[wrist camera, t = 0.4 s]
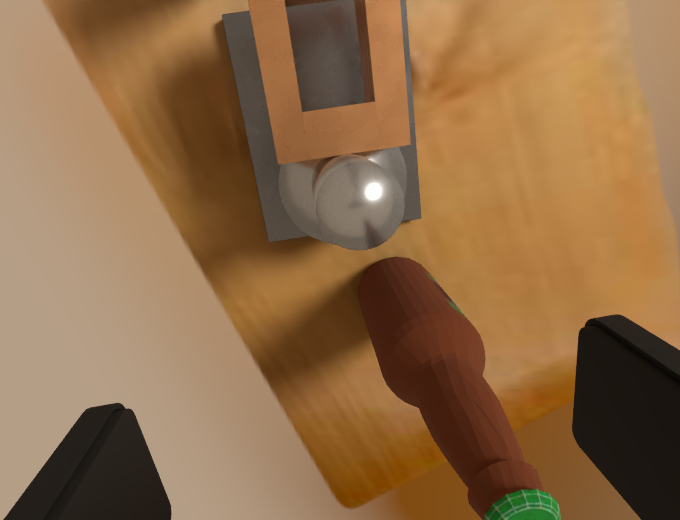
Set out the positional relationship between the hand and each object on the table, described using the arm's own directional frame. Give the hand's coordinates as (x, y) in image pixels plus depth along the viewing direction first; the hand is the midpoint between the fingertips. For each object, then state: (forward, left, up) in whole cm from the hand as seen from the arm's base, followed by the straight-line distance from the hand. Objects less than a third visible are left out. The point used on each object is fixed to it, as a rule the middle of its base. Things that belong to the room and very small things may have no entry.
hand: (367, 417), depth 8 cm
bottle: (+11, +6, -29) cm, 32 cm away
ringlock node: (-6, +2, -29) cm, 30 cm away
